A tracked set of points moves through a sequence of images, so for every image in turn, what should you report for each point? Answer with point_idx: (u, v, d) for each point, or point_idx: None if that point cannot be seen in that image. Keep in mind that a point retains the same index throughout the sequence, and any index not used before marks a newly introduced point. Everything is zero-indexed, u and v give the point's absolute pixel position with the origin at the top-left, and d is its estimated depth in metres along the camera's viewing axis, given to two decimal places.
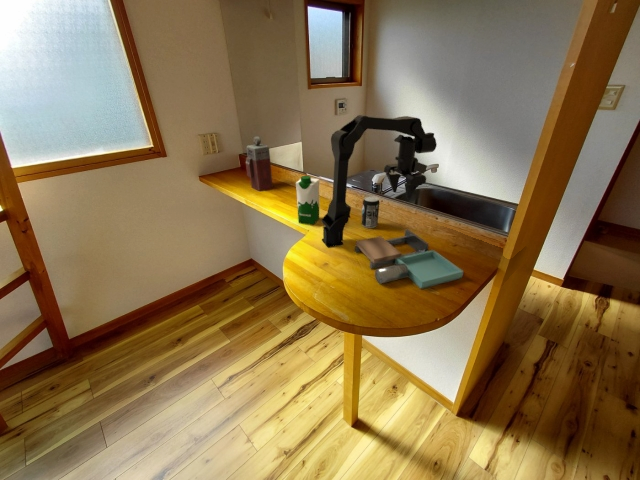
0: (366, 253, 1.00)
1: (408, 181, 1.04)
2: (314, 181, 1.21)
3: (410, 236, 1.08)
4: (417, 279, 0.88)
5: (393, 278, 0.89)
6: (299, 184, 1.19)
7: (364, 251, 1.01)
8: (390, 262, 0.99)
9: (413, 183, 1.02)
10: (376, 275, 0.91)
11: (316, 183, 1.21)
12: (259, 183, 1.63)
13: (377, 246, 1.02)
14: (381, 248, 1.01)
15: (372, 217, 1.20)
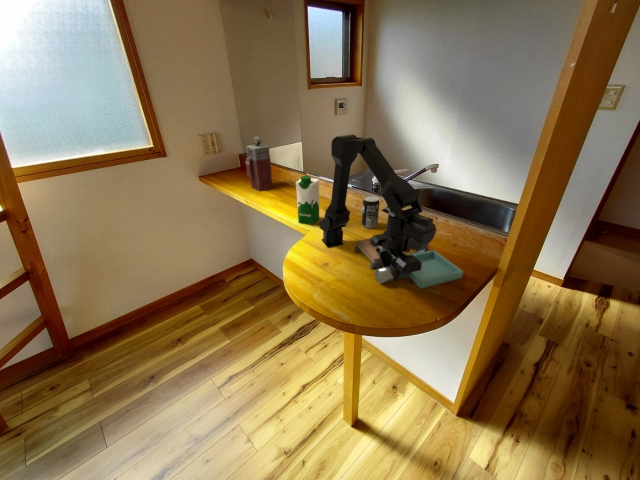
0: (366, 253, 1.00)
1: (399, 267, 0.81)
2: (314, 181, 1.21)
3: None
4: (417, 279, 0.88)
5: (393, 278, 0.89)
6: (299, 184, 1.19)
7: (364, 251, 1.01)
8: None
9: (405, 271, 0.79)
10: (376, 275, 0.91)
11: (316, 183, 1.21)
12: (259, 183, 1.63)
13: (377, 246, 1.02)
14: None
15: (372, 217, 1.20)
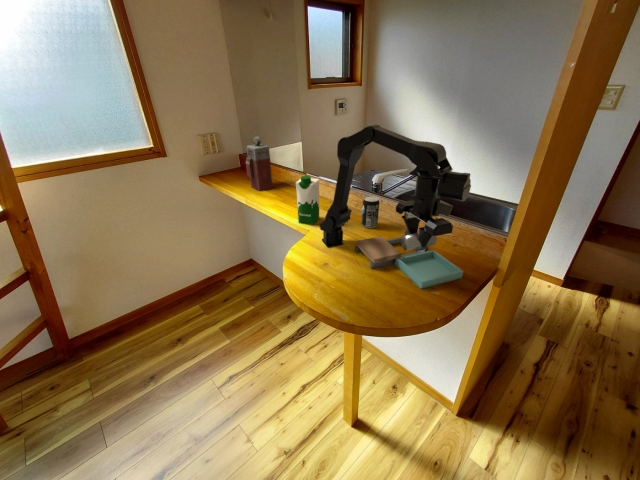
0: (366, 253, 1.00)
1: (429, 229, 0.78)
2: (314, 181, 1.21)
3: None
4: (417, 279, 0.88)
5: (420, 245, 0.86)
6: (299, 184, 1.19)
7: (364, 251, 1.01)
8: (390, 262, 0.99)
9: (436, 233, 0.76)
10: (402, 242, 0.88)
11: (316, 183, 1.21)
12: (259, 183, 1.63)
13: (377, 246, 1.02)
14: (381, 248, 1.01)
15: (372, 217, 1.20)
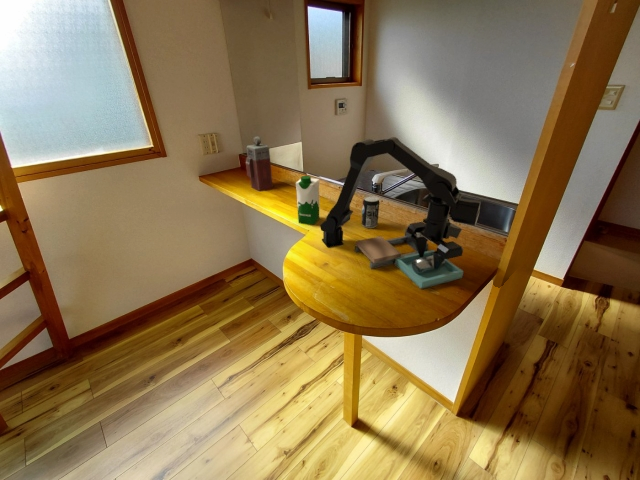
0: (366, 253, 1.00)
1: (440, 253, 0.83)
2: (314, 181, 1.21)
3: (410, 236, 1.08)
4: (417, 279, 0.88)
5: (430, 268, 0.92)
6: (299, 184, 1.19)
7: (364, 251, 1.01)
8: (390, 262, 0.99)
9: (447, 257, 0.82)
10: (413, 266, 0.94)
11: (316, 183, 1.21)
12: (259, 183, 1.63)
13: (377, 246, 1.02)
14: (381, 248, 1.01)
15: (372, 217, 1.20)
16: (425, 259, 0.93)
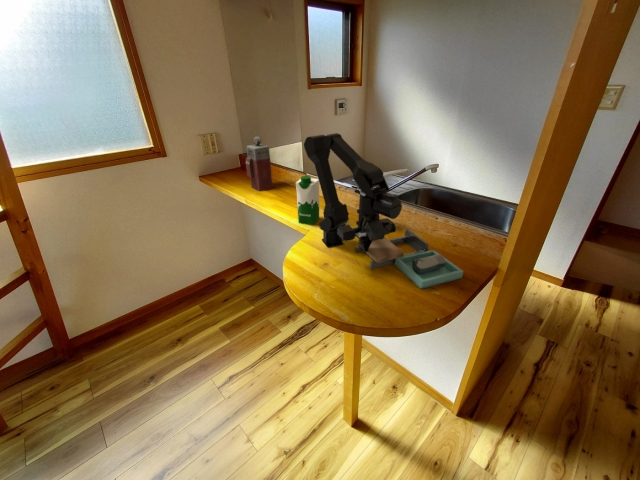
0: (369, 252, 1.00)
1: None
2: (314, 181, 1.21)
3: (410, 236, 1.08)
4: (417, 279, 0.88)
5: (430, 268, 0.92)
6: (299, 184, 1.19)
7: None
8: (390, 262, 0.99)
9: (337, 232, 0.96)
10: (413, 265, 0.94)
11: (316, 183, 1.21)
12: (259, 183, 1.63)
13: (380, 245, 1.02)
14: (383, 248, 1.01)
15: None
16: (425, 259, 0.93)
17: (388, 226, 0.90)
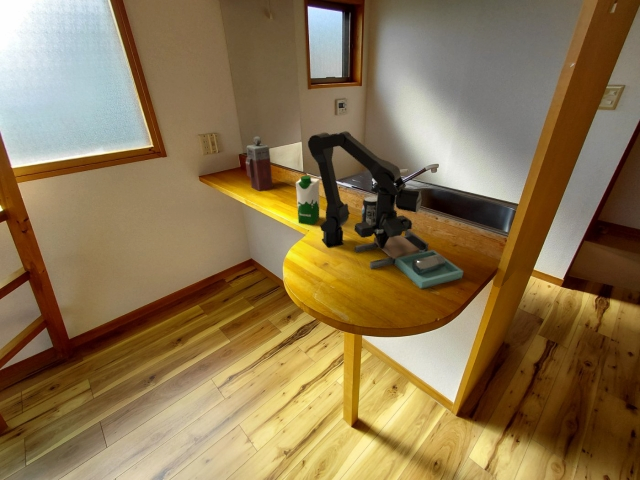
0: (385, 249, 1.02)
1: None
2: (314, 181, 1.21)
3: (410, 236, 1.08)
4: (417, 279, 0.88)
5: (430, 269, 0.92)
6: (299, 184, 1.19)
7: None
8: (390, 262, 0.99)
9: None
10: (413, 266, 0.94)
11: (316, 183, 1.21)
12: (259, 183, 1.63)
13: (395, 242, 1.04)
14: (399, 244, 1.03)
15: (372, 217, 1.20)
16: (425, 259, 0.92)
17: (406, 223, 0.92)
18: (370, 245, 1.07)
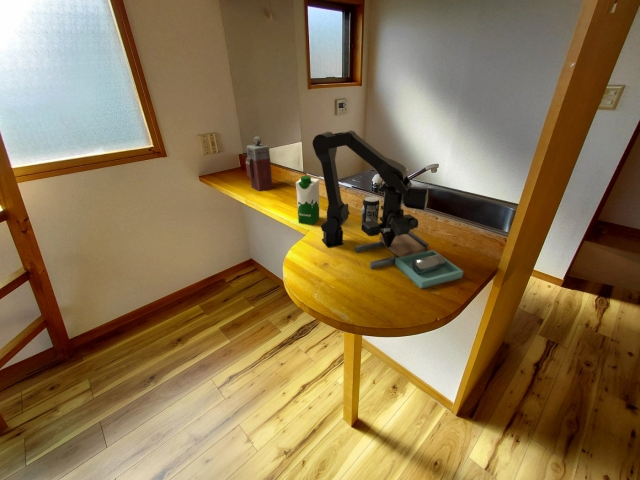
0: (391, 248, 1.02)
1: None
2: (314, 181, 1.21)
3: (410, 236, 1.08)
4: (417, 279, 0.88)
5: (430, 269, 0.92)
6: (299, 184, 1.19)
7: None
8: (390, 262, 0.99)
9: (361, 227, 0.99)
10: (413, 266, 0.94)
11: (316, 183, 1.21)
12: (259, 183, 1.63)
13: (401, 241, 1.05)
14: (405, 243, 1.04)
15: (372, 217, 1.20)
16: (425, 259, 0.92)
17: (413, 221, 0.92)
18: (370, 245, 1.07)
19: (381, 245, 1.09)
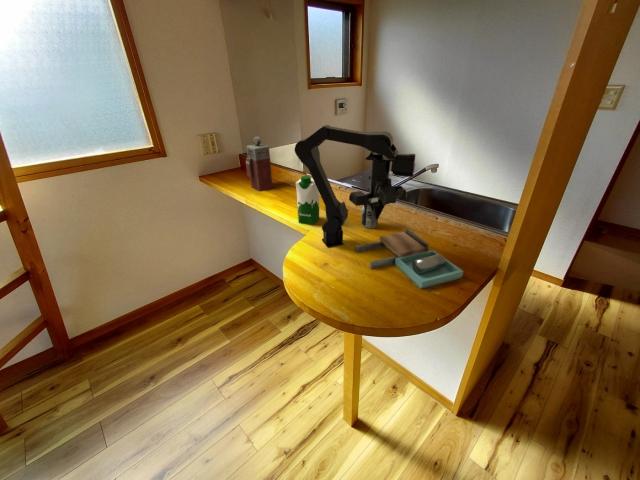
0: (391, 248, 1.02)
1: None
2: None
3: (410, 236, 1.08)
4: (417, 279, 0.88)
5: (430, 269, 0.92)
6: (299, 184, 1.19)
7: (389, 246, 1.04)
8: (390, 262, 0.99)
9: (349, 198, 0.98)
10: (413, 266, 0.94)
11: None
12: (259, 183, 1.63)
13: (401, 241, 1.05)
14: (405, 243, 1.04)
15: (372, 217, 1.20)
16: (425, 259, 0.92)
17: (400, 190, 0.92)
18: (370, 245, 1.07)
19: (381, 245, 1.09)
